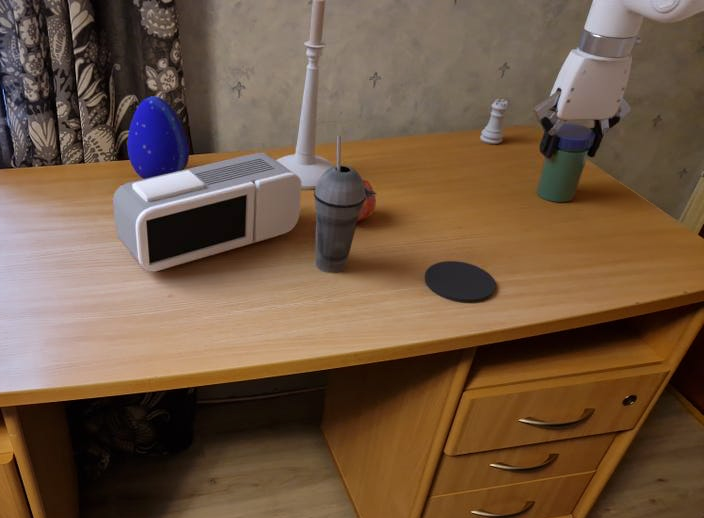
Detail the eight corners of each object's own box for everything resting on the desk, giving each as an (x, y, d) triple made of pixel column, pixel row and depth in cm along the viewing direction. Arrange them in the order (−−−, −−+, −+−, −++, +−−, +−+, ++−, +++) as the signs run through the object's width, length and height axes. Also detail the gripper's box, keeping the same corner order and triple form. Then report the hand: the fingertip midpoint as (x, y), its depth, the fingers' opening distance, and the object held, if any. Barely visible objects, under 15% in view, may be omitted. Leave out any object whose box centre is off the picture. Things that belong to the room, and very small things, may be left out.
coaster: (479, 263, 104) (480, 259, 103) (505, 301, 96) (506, 298, 96) (416, 265, 103) (416, 261, 103) (436, 304, 95) (437, 300, 95)
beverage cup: (342, 283, 99) (361, 152, 86) (298, 268, 102) (310, 140, 89) (362, 260, 104) (383, 133, 91) (319, 247, 107) (334, 122, 94)
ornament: (197, 180, 124) (196, 97, 114) (162, 198, 119) (157, 113, 109) (154, 163, 129) (149, 82, 119) (119, 179, 124) (111, 96, 114)
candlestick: (316, 154, 133) (333, -17, 113) (351, 182, 124) (376, 1, 104) (257, 165, 129) (265, -10, 109) (289, 194, 120) (303, 9, 100)
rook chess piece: (505, 140, 139) (516, 101, 134) (496, 147, 136) (507, 107, 131) (485, 134, 141) (495, 95, 136) (475, 140, 139) (485, 101, 133)
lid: (602, 146, 113) (605, 136, 112) (566, 153, 111) (569, 143, 110) (573, 130, 118) (576, 121, 117) (539, 137, 117) (541, 127, 115)
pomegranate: (320, 230, 115) (355, 218, 106) (312, 187, 114) (347, 172, 105) (355, 225, 118) (392, 213, 109) (348, 183, 118) (385, 167, 109)
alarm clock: (142, 282, 99) (136, 208, 91) (117, 252, 105) (110, 181, 97) (297, 236, 109) (304, 166, 101) (267, 211, 115) (271, 144, 107)
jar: (559, 183, 124) (576, 127, 117) (582, 198, 119) (601, 141, 112) (528, 188, 123) (543, 132, 116) (550, 204, 118) (566, 147, 111)
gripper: (646, 36, 108) (604, 144, 119) (540, 37, 107) (508, 146, 118) (673, 50, 102) (626, 162, 114) (562, 52, 101) (526, 165, 113)
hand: (566, 153), depth 116 cm, fingers closed on lid, 6 cm apart
